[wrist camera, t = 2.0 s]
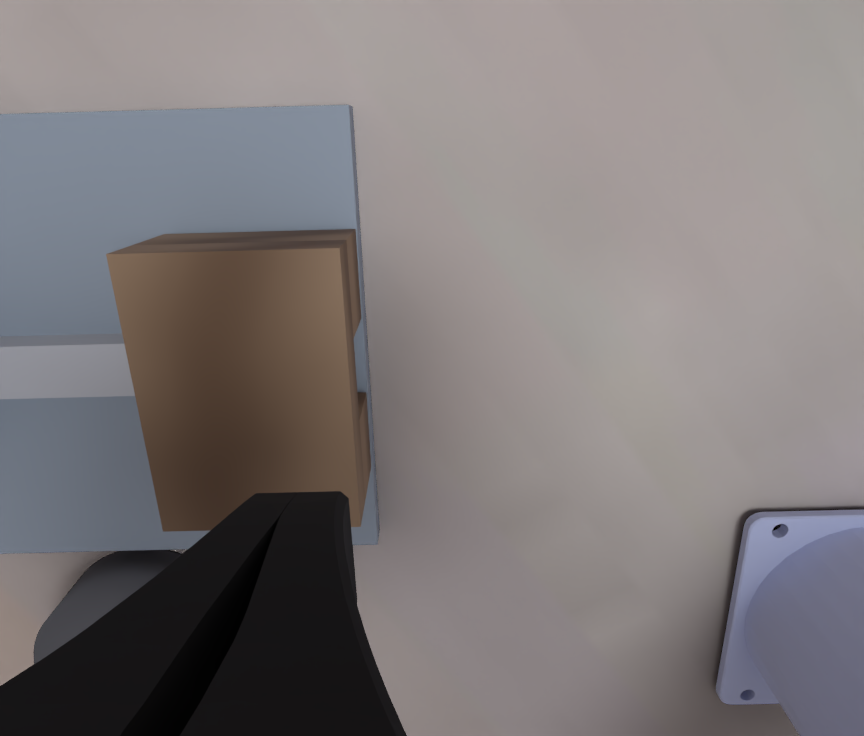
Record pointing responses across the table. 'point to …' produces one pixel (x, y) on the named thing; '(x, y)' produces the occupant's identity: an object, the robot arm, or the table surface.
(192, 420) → the block
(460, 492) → the table surface
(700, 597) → the table surface
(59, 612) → the dark gray cylinder
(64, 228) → the board
